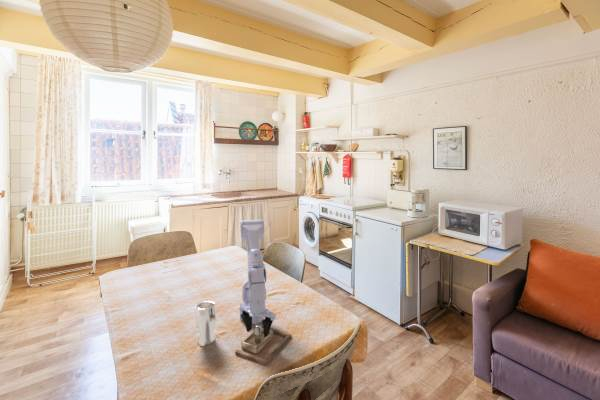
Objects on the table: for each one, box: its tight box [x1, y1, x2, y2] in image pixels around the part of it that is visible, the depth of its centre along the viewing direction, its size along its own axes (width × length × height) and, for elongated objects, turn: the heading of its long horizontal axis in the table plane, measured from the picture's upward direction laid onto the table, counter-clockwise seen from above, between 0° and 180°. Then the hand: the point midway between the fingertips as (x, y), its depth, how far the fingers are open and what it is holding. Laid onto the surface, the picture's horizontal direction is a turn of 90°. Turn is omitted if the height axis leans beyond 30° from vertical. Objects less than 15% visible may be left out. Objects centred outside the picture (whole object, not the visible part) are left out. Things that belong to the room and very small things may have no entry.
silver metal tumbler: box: [195, 300, 217, 347], centre depth 112 cm, size 7×7×15 cm
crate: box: [240, 324, 274, 355], centre depth 111 cm, size 7×11×6 cm, turn 154°
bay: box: [234, 325, 292, 366], centre depth 110 cm, size 13×18×2 cm
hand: (257, 333), depth 111 cm, fingers open, 7 cm apart
